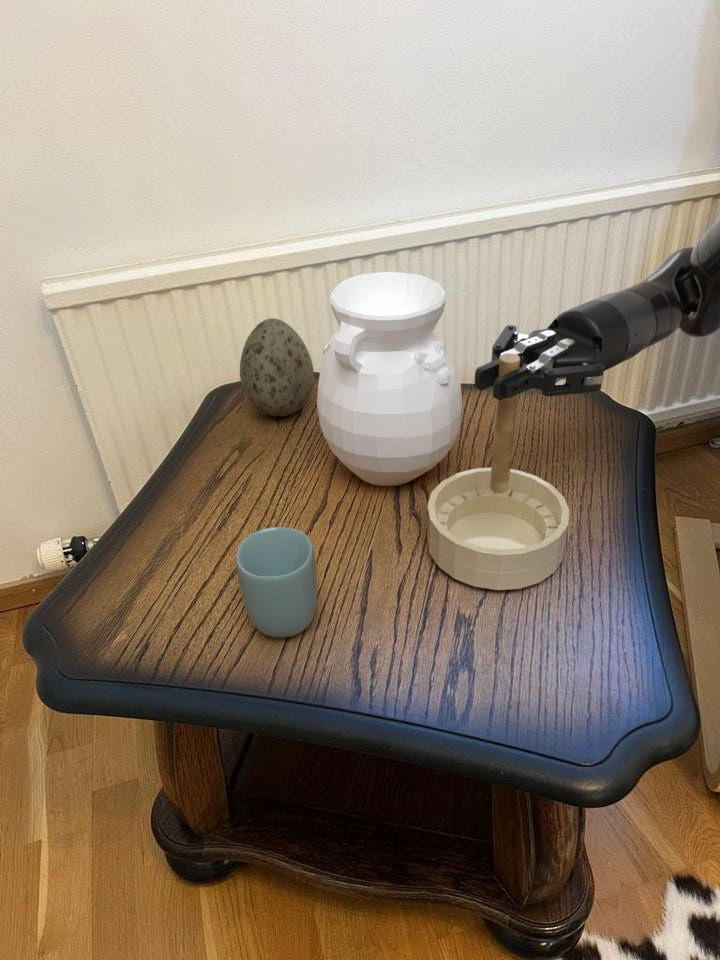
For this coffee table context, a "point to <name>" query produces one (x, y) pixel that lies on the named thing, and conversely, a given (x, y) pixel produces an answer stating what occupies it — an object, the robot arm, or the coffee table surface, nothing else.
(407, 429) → the white vase
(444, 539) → the bowl
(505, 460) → the stick
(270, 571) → the cup
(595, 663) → the coffee table surface
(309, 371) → the decorative egg
